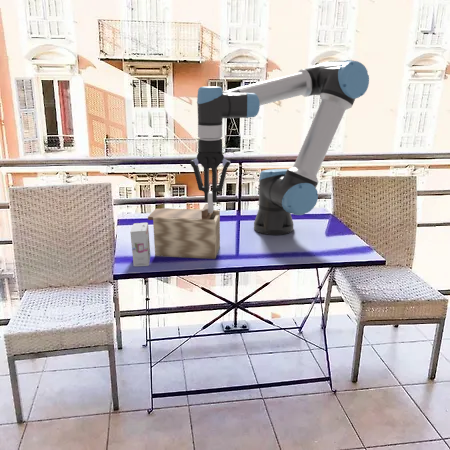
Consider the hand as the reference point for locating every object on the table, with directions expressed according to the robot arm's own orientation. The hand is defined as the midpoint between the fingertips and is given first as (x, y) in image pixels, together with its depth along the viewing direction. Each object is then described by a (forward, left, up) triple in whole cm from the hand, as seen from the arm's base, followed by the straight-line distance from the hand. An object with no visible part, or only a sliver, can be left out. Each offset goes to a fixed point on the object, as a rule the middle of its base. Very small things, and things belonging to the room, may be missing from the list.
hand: (210, 211), depth 150 cm
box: (+8, 0, -14) cm, 16 cm away
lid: (+10, 0, -2) cm, 10 cm away
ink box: (+21, +10, -15) cm, 27 cm away
